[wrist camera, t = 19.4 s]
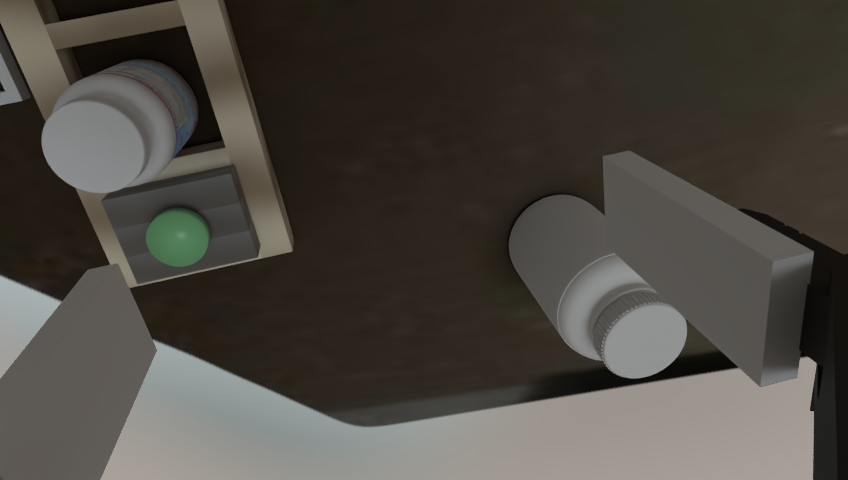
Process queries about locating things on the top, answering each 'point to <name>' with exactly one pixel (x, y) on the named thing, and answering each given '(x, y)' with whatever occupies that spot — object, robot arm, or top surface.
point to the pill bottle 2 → (593, 289)
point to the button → (178, 237)
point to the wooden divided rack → (191, 167)
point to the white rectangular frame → (10, 77)
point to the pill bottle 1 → (119, 126)
